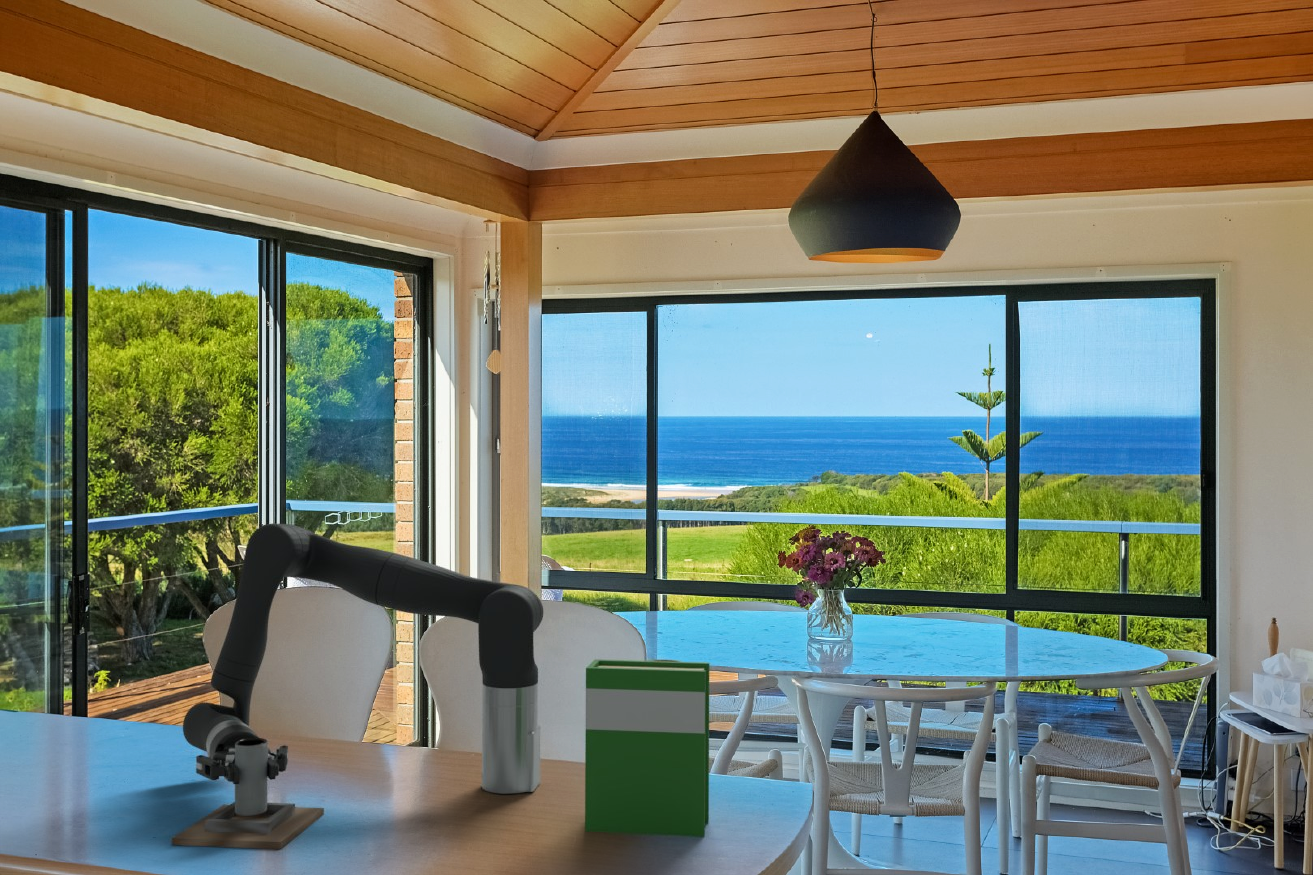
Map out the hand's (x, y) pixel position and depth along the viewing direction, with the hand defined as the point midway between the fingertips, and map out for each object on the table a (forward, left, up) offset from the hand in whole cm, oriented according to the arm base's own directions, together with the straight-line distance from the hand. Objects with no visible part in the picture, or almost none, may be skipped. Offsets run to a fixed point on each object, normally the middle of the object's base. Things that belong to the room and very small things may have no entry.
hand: (255, 774), depth 172 cm
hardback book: (-56, -10, -9) cm, 58 cm away
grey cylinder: (+2, -2, -6) cm, 7 cm away
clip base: (+2, -2, -9) cm, 9 cm away
